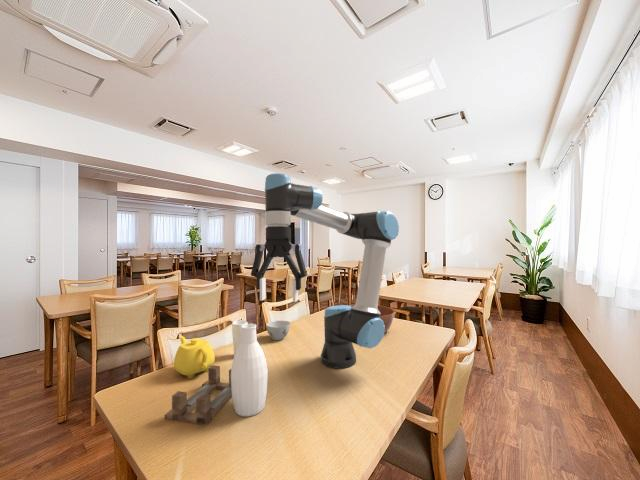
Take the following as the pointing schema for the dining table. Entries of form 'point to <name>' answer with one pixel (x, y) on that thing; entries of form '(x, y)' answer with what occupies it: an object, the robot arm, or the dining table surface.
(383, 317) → the bowl
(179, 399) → the cradle
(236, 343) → the white pillar candle
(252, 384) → the bottle
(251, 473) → the dining table surface
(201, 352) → the teapot
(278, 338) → the teacup
